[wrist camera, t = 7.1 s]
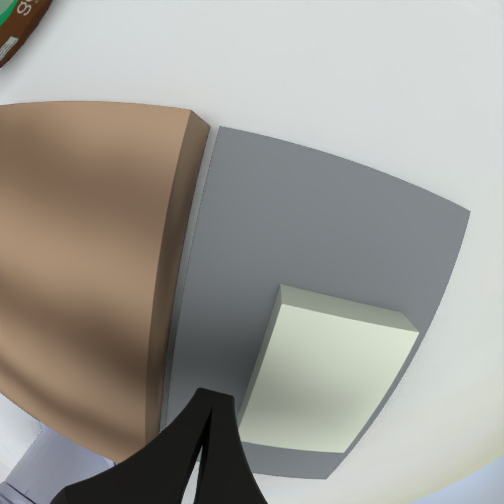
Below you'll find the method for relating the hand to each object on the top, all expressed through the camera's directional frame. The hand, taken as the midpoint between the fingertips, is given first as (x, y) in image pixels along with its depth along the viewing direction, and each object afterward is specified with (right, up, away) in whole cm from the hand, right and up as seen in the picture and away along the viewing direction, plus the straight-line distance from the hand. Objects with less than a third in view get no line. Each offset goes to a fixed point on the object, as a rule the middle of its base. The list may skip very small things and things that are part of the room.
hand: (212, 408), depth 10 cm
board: (-9, +4, +4) cm, 11 cm away
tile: (+4, 0, +1) cm, 5 cm away
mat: (+4, 0, +4) cm, 5 cm away
